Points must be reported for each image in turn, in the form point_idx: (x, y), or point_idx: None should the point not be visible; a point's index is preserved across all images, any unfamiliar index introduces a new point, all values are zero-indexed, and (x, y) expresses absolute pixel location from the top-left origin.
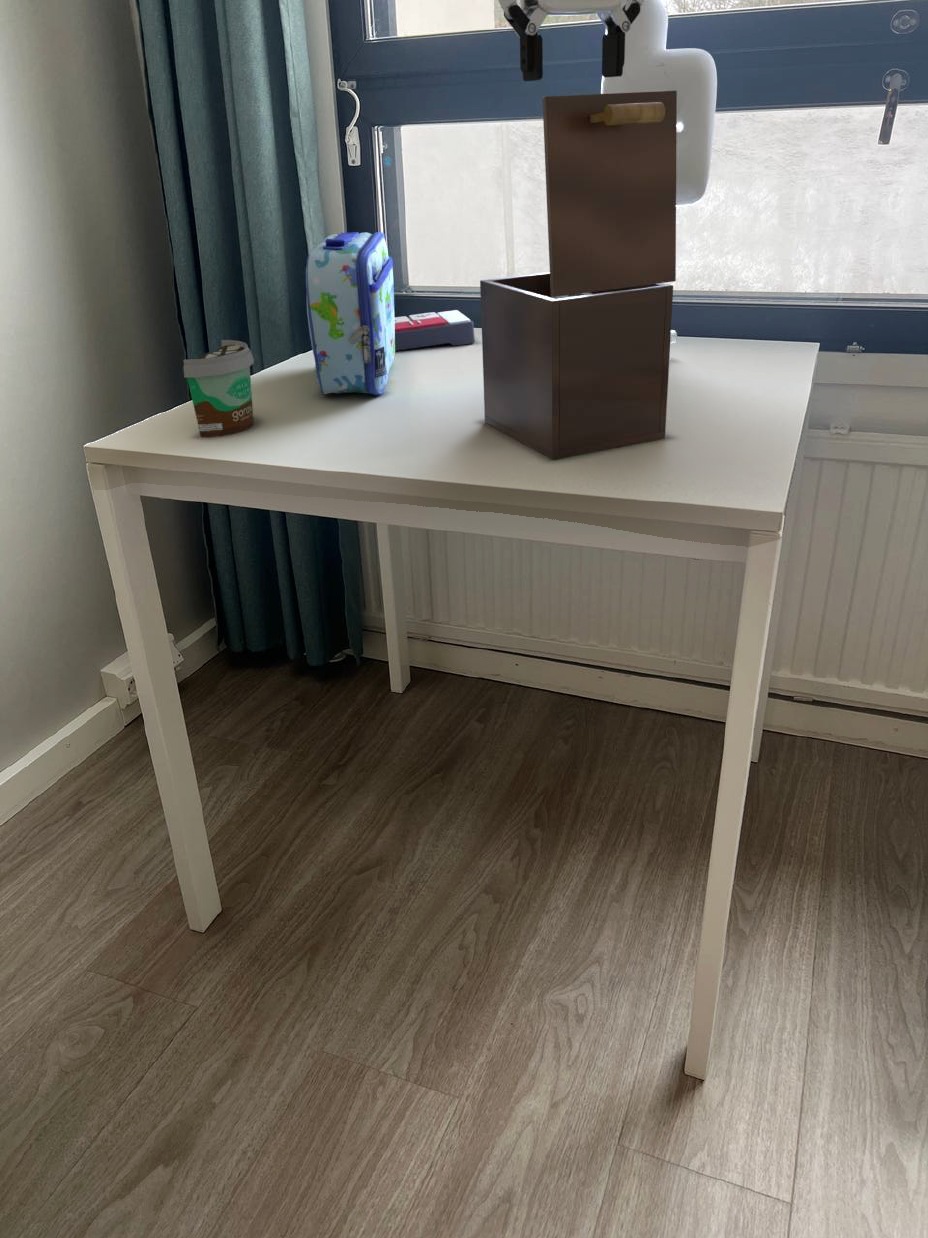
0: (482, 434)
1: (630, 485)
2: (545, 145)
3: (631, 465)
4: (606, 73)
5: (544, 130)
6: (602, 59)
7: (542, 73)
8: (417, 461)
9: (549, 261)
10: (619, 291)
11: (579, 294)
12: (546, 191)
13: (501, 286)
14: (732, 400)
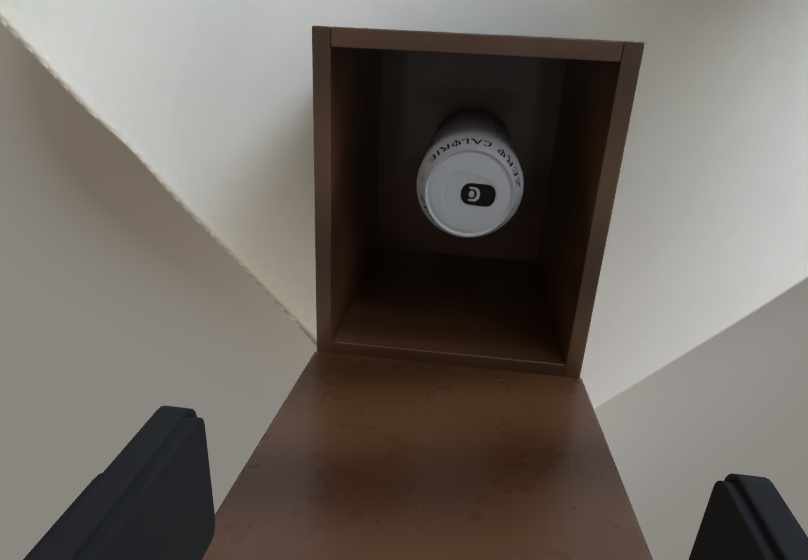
0: None
1: None
2: None
3: None
4: (706, 526)
5: None
6: (758, 554)
7: (204, 551)
8: (213, 151)
9: (298, 379)
10: (462, 360)
11: (487, 196)
12: (252, 454)
13: (314, 148)
14: (786, 178)
